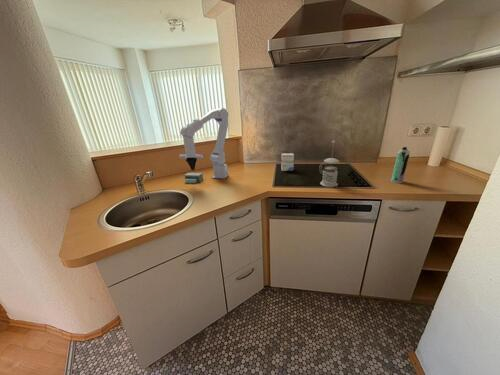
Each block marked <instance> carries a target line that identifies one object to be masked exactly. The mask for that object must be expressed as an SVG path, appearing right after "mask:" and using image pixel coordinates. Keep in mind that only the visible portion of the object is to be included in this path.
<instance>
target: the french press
mask: <svg viewBox="0 0 500 375" xmlns="http://www.w3.org/2000/svg"><path fill="white" fill-rule="evenodd" d="M331 143H332V146H334V144H336V140H332V141H331ZM333 153H334V150H332V152H331V155H333ZM338 163H340V160H339V159H337V158H333V157H328V158H325V159H324V160H323V162H321V163H320V165H319V167H320V170H319V173H322V178H321V179H322V180H321V181H320V183H319V184H320V185H321V186H324V187H330V188H335V187H338V185H339V184H338V183H337V181H338V180H337V179H338V167H336V166H334V164H338ZM326 164H331V165H327V166H324V167H323V165H326ZM332 164H333V165H332ZM323 168H324V169H323ZM334 186H335V187H334Z"/></svg>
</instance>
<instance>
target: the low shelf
mask: <svg viewBox="0 0 500 375" xmlns="http://www.w3.org/2000/svg"><path fill="white" fill-rule="evenodd" d="M188 177H198V179H199V181H198V183H200V182H202V181H203V180H204V176H203V173H202V172H187V173H186V174H184V180H185V179H186V178H188Z"/></svg>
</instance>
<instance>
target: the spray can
mask: <svg viewBox="0 0 500 375" xmlns="http://www.w3.org/2000/svg"><path fill="white" fill-rule="evenodd" d="M410 154H411V151H409V150H408V146H403V147H402V148H401V149H400V150H398V152H397V153H396V159H395V162H394V167H393V171H392V174H391V178H390V181H391V182H392V183H396V184H401V183H403V181H404V177H405V173H406V170H407V166H408V162H409V159H410Z"/></svg>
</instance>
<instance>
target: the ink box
mask: <svg viewBox="0 0 500 375" xmlns="http://www.w3.org/2000/svg"><path fill="white" fill-rule="evenodd" d="M280 157H281V158H280V159H281V160H280V162H281V165H280V168H281V170H280V171H281V172H286V171H287V172H290V171H292V172H293V171H294V165H295V164H294V160H295V154H294V153H281V156H280Z"/></svg>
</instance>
